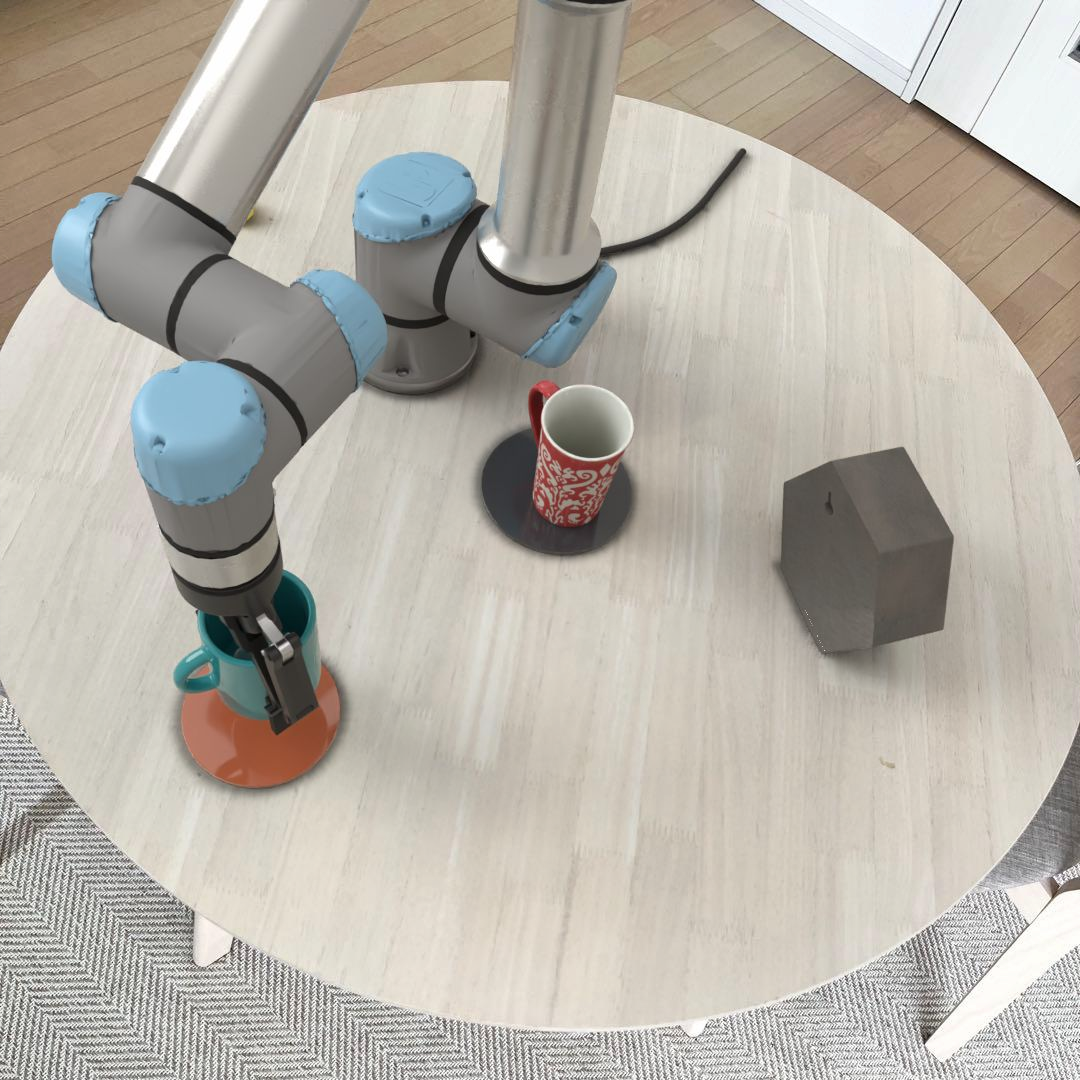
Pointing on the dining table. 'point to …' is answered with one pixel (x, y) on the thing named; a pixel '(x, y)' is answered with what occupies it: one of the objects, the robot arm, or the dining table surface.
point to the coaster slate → (519, 518)
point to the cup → (235, 666)
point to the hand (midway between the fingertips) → (254, 681)
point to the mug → (576, 448)
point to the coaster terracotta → (258, 738)
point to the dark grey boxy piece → (865, 551)
